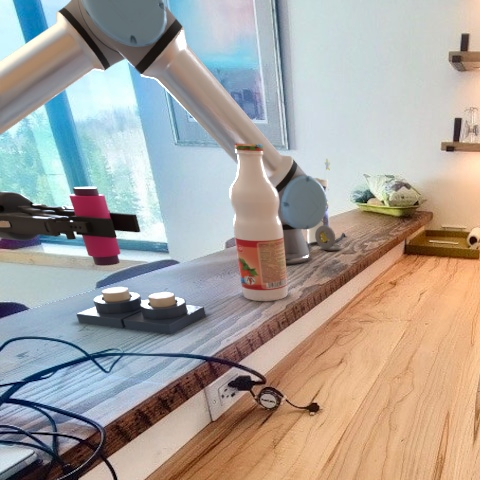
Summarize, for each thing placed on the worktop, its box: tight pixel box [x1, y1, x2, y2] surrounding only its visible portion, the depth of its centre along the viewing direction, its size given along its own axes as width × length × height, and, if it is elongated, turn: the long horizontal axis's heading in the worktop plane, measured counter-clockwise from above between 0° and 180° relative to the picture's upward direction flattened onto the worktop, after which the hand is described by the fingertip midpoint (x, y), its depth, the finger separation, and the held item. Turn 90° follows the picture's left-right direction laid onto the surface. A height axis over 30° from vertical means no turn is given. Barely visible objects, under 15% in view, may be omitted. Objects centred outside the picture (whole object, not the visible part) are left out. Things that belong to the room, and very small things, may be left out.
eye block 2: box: [123, 296, 206, 335], centre depth 75 cm, size 10×8×4 cm
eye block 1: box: [76, 291, 147, 329], centre depth 76 cm, size 10×8×4 cm
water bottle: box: [306, 158, 331, 244], centre depth 137 cm, size 8×9×25 cm
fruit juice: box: [229, 143, 289, 302], centre depth 84 cm, size 9×9×28 cm
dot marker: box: [68, 186, 121, 267], centre depth 69 cm, size 5×5×12 cm
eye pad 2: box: [147, 291, 176, 307], centre depth 73 cm, size 4×4×2 cm
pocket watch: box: [315, 217, 343, 252], centre depth 132 cm, size 8×8×10 cm
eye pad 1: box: [101, 286, 130, 302], centre depth 75 cm, size 4×4×2 cm
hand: (124, 225), depth 68 cm, fingers closed on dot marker, 5 cm apart
